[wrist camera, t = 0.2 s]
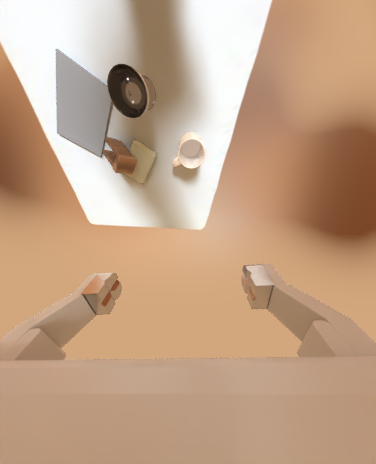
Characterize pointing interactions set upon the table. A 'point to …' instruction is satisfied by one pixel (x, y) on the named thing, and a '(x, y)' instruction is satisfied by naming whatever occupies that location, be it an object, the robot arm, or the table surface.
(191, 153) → the mug
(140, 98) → the wine glass
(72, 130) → the mat
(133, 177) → the pale olive rectangular block
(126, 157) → the stool
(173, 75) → the table surface
